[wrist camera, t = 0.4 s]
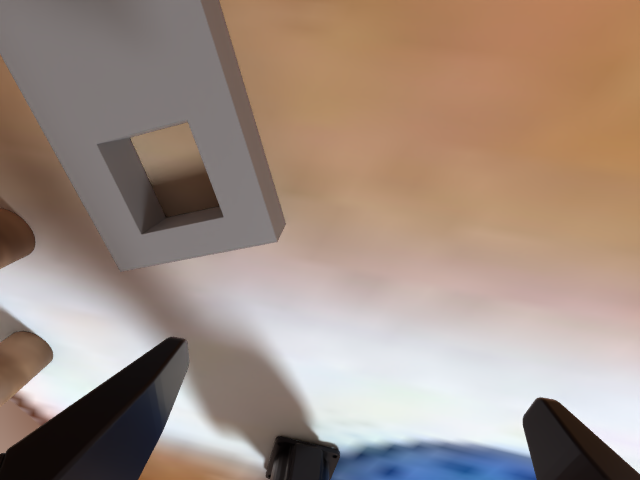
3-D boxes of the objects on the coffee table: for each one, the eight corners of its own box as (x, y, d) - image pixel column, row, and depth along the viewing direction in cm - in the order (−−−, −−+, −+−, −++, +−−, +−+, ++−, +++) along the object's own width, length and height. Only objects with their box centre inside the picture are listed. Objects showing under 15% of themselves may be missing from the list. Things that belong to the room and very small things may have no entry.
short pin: (55, 369, 30) (3, 417, 26) (13, 359, 30) (-47, 406, 26) (50, 337, 29) (-6, 383, 24) (5, 326, 28) (-60, 371, 24)
